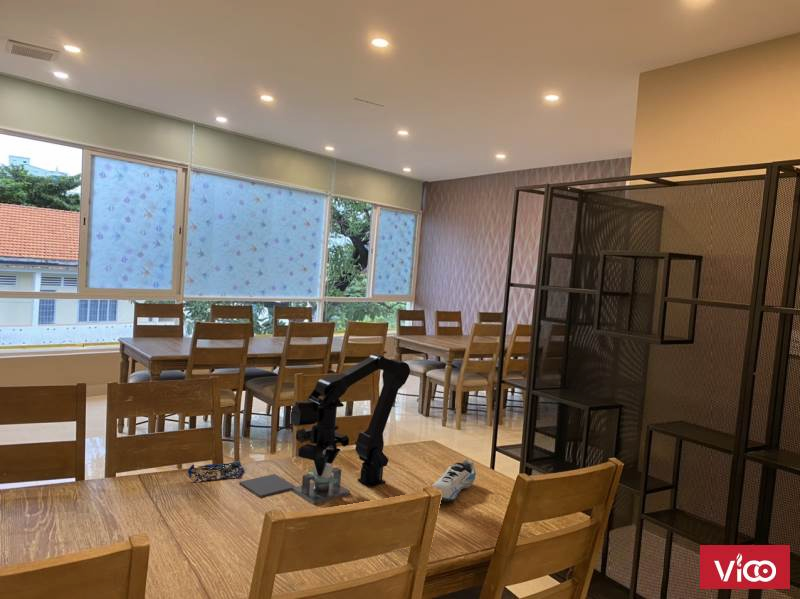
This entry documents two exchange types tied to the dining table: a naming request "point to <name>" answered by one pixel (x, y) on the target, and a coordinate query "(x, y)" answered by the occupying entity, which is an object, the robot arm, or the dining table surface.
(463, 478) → the running shoe
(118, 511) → the dining table surface
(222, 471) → the dark blue patterned slab
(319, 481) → the cap
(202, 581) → the dining table surface
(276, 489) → the mat
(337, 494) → the grey plate with upright
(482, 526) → the dining table surface
